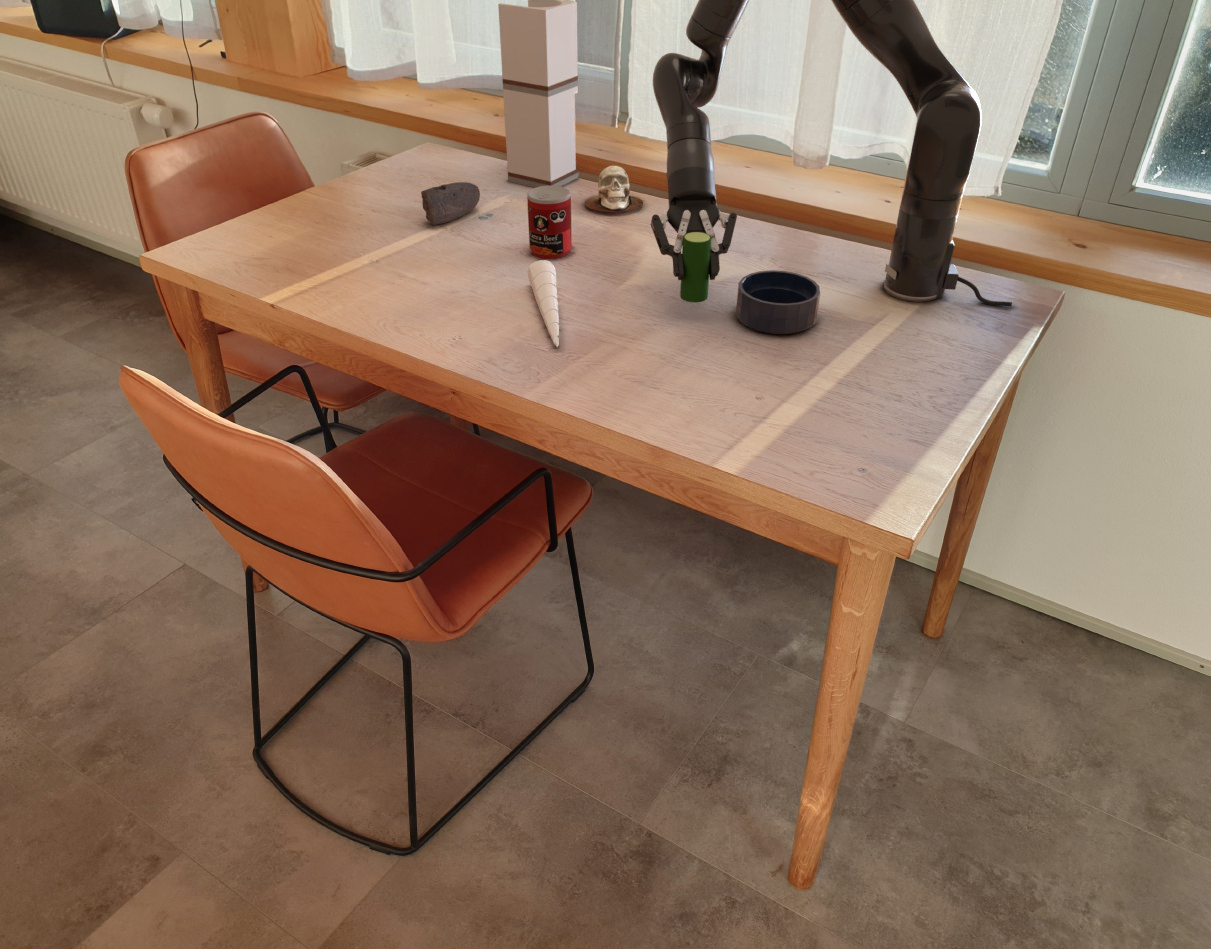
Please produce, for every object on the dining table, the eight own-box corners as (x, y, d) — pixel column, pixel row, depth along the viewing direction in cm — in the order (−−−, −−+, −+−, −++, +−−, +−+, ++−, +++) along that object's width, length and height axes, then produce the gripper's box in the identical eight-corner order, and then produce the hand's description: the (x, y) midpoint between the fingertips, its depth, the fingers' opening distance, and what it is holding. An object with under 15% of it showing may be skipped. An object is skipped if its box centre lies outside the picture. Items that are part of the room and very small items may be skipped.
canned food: (522, 255, 171) (519, 196, 165) (541, 240, 177) (539, 182, 171) (560, 262, 169) (559, 202, 162) (578, 246, 175) (577, 188, 168)
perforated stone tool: (472, 204, 192) (469, 171, 188) (489, 210, 189) (487, 176, 185) (415, 225, 183) (411, 190, 179) (432, 231, 180) (429, 196, 176)
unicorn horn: (532, 350, 142) (531, 322, 139) (528, 285, 161) (527, 258, 158) (563, 349, 142) (563, 321, 140) (555, 284, 162) (555, 257, 159)
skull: (650, 210, 187) (615, 173, 182) (611, 243, 191) (577, 207, 186) (647, 187, 196) (614, 151, 191) (610, 219, 200) (577, 185, 196)
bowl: (813, 303, 156) (817, 272, 153) (818, 339, 146) (823, 307, 142) (735, 299, 157) (738, 268, 154) (735, 334, 147) (738, 302, 143)
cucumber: (708, 291, 152) (711, 232, 146) (707, 303, 148) (711, 243, 142) (680, 290, 152) (683, 230, 146) (679, 302, 149) (682, 241, 143)
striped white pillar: (578, 177, 206) (576, 1, 185) (551, 191, 199) (545, 10, 178) (536, 168, 211) (530, -4, 190) (508, 181, 204) (498, 4, 183)
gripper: (648, 165, 145) (653, 270, 142) (739, 163, 145) (746, 268, 143) (644, 187, 152) (649, 288, 150) (731, 185, 153) (738, 285, 150)
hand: (697, 277), depth 146 cm, fingers closed on cucumber, 4 cm apart
